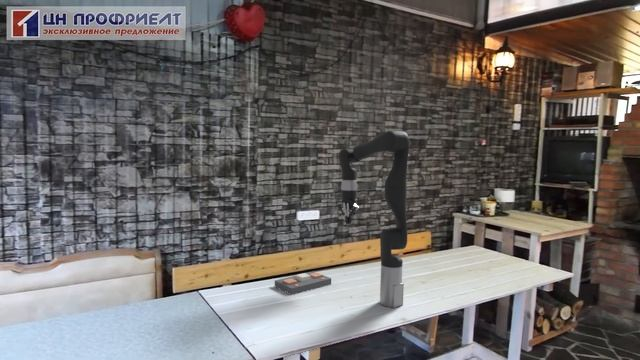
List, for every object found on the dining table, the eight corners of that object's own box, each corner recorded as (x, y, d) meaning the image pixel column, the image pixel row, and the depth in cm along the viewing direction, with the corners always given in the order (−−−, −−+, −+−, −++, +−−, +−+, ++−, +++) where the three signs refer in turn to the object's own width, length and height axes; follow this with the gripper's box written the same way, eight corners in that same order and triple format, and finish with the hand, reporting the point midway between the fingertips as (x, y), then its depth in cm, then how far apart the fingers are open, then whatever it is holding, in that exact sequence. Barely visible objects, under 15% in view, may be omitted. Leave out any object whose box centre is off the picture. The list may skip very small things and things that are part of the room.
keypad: (331, 284, 203) (331, 277, 203) (291, 294, 188) (291, 288, 188) (313, 277, 214) (313, 271, 214) (274, 286, 199) (274, 280, 199)
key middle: (310, 281, 201) (310, 275, 200) (302, 283, 198) (302, 277, 197) (304, 279, 205) (304, 273, 204) (296, 281, 201) (296, 275, 201)
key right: (323, 280, 206) (323, 274, 206) (315, 282, 203) (315, 276, 202) (316, 277, 210) (316, 272, 209) (309, 279, 206) (309, 274, 206)
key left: (297, 287, 196) (297, 280, 195) (288, 289, 193) (288, 283, 192) (291, 284, 200) (291, 278, 199) (282, 286, 196) (282, 280, 196)
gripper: (364, 189, 200) (363, 225, 201) (345, 187, 210) (344, 221, 211) (353, 190, 195) (352, 226, 196) (334, 188, 205) (333, 222, 207)
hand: (348, 223), depth 204 cm, fingers closed
